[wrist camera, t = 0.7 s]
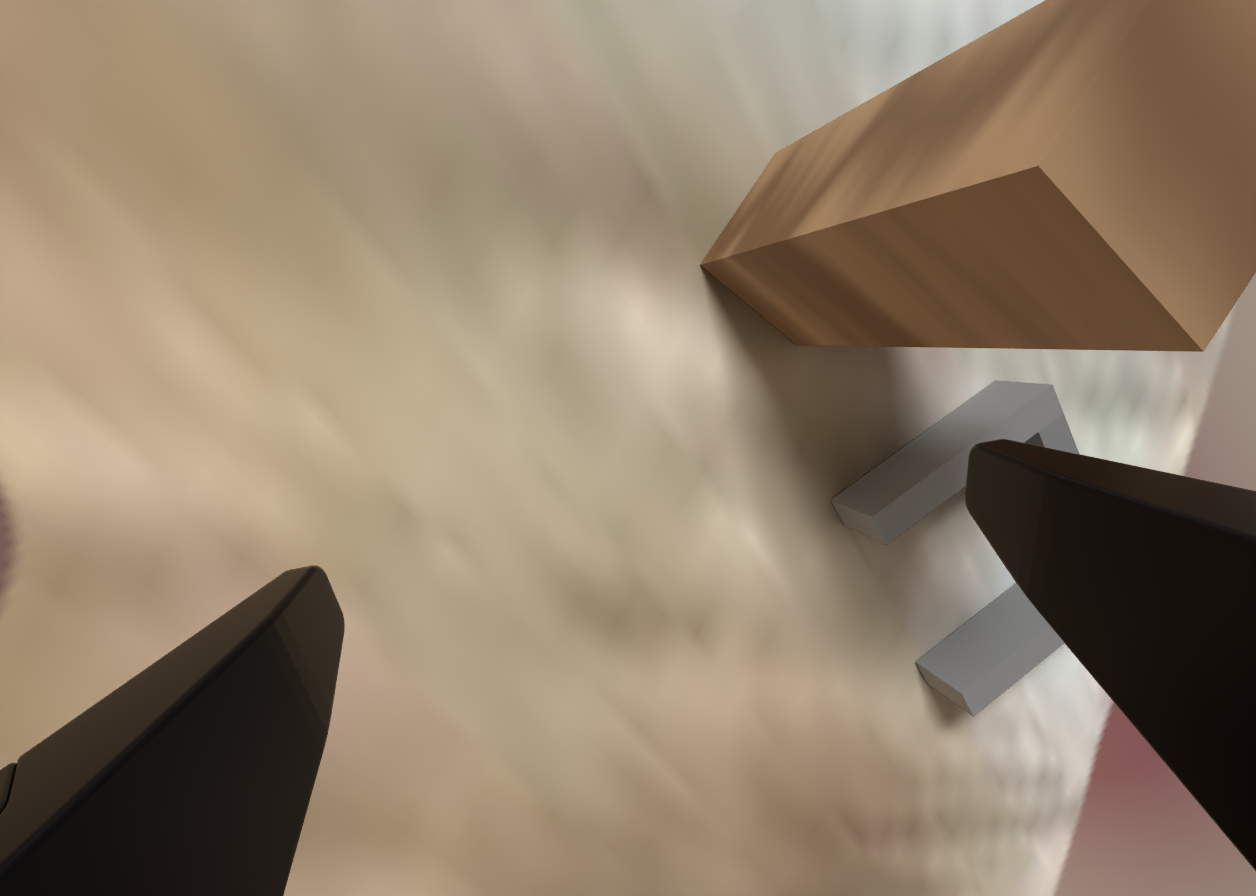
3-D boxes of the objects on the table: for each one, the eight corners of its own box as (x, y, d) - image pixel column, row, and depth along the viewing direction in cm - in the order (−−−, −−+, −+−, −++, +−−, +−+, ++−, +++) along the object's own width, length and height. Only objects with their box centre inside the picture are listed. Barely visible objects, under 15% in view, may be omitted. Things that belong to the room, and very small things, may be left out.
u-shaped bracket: (927, 683, 27) (973, 716, 25) (830, 499, 24) (871, 517, 22) (1073, 567, 28) (1131, 588, 26) (995, 380, 25) (1052, 384, 23)
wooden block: (796, 345, 23) (1203, 351, 11) (699, 264, 22) (1037, 165, 9) (867, 239, 23) (1353, 124, 11) (776, 152, 22) (1211, -94, 9)
